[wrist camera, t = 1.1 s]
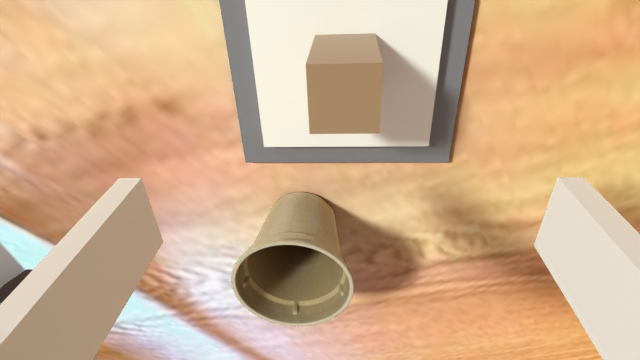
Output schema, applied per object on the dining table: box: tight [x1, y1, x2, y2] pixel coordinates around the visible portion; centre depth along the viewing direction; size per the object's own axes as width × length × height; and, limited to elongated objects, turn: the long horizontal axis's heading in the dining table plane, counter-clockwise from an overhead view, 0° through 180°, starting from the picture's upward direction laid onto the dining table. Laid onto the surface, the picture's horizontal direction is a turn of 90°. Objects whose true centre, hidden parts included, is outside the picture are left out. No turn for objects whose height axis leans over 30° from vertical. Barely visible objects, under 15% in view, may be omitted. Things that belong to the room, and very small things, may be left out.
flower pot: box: [231, 192, 354, 326], centre depth 33 cm, size 9×9×9 cm
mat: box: [219, 0, 475, 162], centre depth 28 cm, size 17×17×1 cm
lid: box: [245, 0, 448, 147], centre depth 24 cm, size 13×13×8 cm
